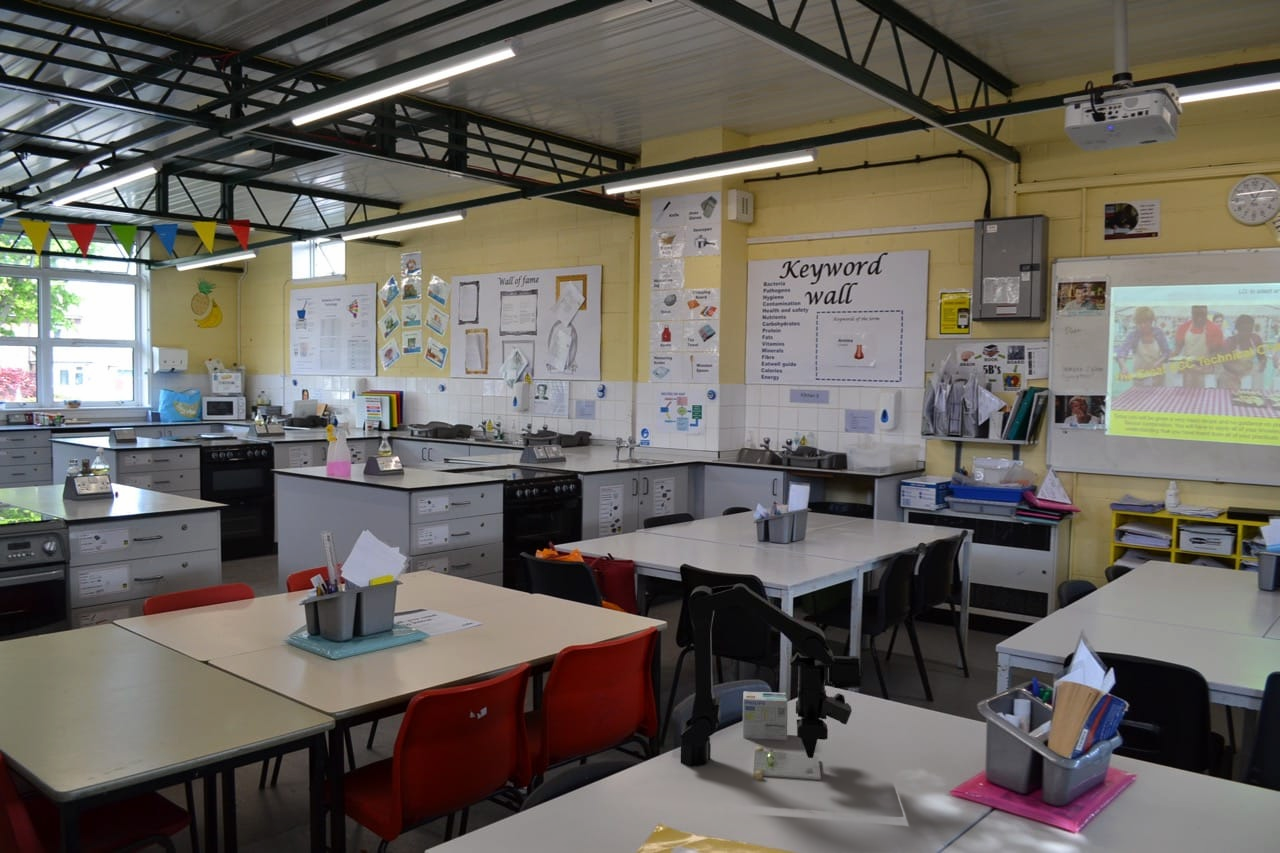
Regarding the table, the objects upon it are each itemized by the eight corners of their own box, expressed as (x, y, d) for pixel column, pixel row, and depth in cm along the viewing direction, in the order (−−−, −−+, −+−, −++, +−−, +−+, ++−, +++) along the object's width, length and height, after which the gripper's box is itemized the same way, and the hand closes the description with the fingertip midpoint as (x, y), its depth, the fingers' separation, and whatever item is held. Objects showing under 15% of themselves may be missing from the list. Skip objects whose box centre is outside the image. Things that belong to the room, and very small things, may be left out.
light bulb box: (786, 735, 222) (786, 691, 222) (788, 745, 215) (788, 700, 215) (742, 733, 223) (742, 690, 223) (742, 743, 216) (743, 698, 216)
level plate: (753, 775, 194) (753, 761, 194) (754, 755, 205) (754, 743, 205) (820, 779, 192) (820, 766, 192) (818, 760, 203) (818, 747, 203)
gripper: (853, 701, 187) (851, 777, 187) (846, 675, 206) (845, 744, 206) (798, 698, 189) (796, 773, 189) (796, 673, 207) (795, 741, 207)
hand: (810, 757), depth 198 cm, fingers closed
